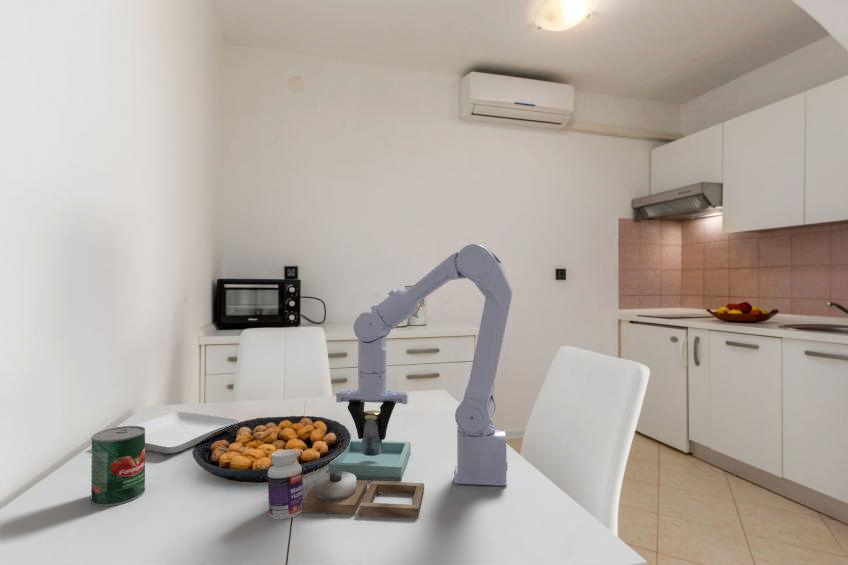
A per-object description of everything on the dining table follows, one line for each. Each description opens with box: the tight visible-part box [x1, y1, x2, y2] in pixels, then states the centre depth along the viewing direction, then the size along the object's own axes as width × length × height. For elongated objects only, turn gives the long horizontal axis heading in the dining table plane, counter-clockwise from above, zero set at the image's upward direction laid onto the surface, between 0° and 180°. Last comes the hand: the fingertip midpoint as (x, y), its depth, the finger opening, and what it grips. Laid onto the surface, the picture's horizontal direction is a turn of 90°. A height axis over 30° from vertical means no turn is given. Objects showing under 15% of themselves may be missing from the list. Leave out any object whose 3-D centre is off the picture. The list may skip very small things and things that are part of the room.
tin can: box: [361, 409, 383, 456], centre depth 95 cm, size 4×4×8 cm
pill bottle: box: [267, 448, 304, 520], centre depth 76 cm, size 5×5×10 cm
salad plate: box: [133, 411, 240, 454], centre depth 111 cm, size 21×21×3 cm
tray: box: [328, 439, 412, 481], centre depth 95 cm, size 14×14×2 cm
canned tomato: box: [90, 425, 146, 508], centre depth 81 cm, size 8×8×11 cm
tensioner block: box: [302, 471, 425, 519], centre depth 79 cm, size 19×9×4 cm, turn 85°
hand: (372, 437), depth 95 cm, fingers closed on tin can, 4 cm apart
